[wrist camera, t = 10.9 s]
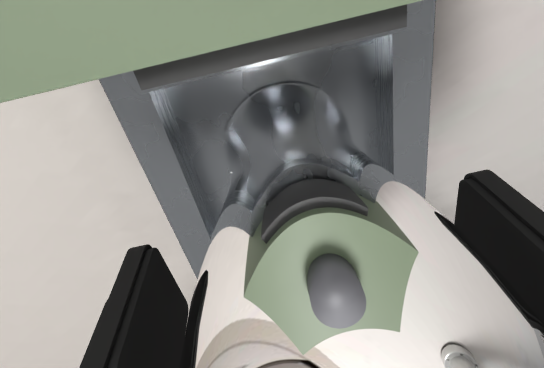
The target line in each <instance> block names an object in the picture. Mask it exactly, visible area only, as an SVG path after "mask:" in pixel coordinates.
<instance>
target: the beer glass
mask: <svg viewBox="0 0 544 368" xmlns="http://www.w3.org/2000/svg"><path fill="white" fill-rule="evenodd" d="M223 146H224V156H225V161H226V164H227V167H228V170H229V173H230V176H231V183H230V188H229V191H228V194H227V197H226V199H225V202H224V205H223V207H222V210H221V212H220V215H219V217H218V220H217V223H216V226H215V228H214V231H213V234H212V236H211V239H210V242H209V245H208V247H207V250H206V253H205V256H204V260H203V263H202V267H201V270H200V273H199V277H198V280H197V284H196V287H195V290H194V294H193V297H192V301H191V306H190V311H189V316H188V322H187V327H186V333H185V338H184V344H183V349H182V355H181V360H180V366H179V368H544V323H543V322H542V321H541V320H540V319H539V317H538V316H537V315H536V314H535V312H534V311H533V310H532V309H531V308H530V306H529V305H528V304H527V303H526V302H525V300H524V299H523V298H522V297H521V295H520V294H519V293H518V292H517V291H516V289H515V288H514V287H513V286H512V285H511V284H510V283H509V282H508V280H507V279H506V278H505V277H504V276H503V275H502V274H501V273H500V272H499V271H498V270H497V269H496V268H495V267H494V265H493V264H492V263H491V262H490V261H489V260H488V259H487V258H486V257H485V256H484V255H483V254H482V253H481V252H480V251H479V249H478V248H477V247H476V246H475V245H474V244H473V243H472V242H471V241H470V240H469V239H468V238H467V237H466V236H465V234H464V233H463V232H462V231H461V230H459V229H458V228H457V227H456V226H455V225H454V224H453V223H451V222H450V221H449V220H448V219H447V218H446V217H445V216H443V215H442V214H441V213H440V212H439V211H438V210H437V209H435V208H434V207H433V206H432V205H431V204H430V203H428V202H427V201H426V200H425V199H424V198H423V197H422V196H420V195H419V194H418V193H417V192H415V191H414V190H413V189H411V188H410V187H409V186H407V185H406V184H405V183H404V182H402V181H401V180H400V179H398V178H397V177H396V176H394V175H393V174H392V173H390V172H389V171H388V170H386V169H385V168H384V167H382V166H381V165H380V164H378V163H377V162H375V161H374V160H373V159H371V158H370V157H369V156H367V155H366V154H365V153H364V152H363V151H361V150H360V149H359V148H358V147H357V146H356V144H355V143H354V140H353V137H352V133H351V128H350V124H349V121H348V118H347V116H346V114H345V112H344V111H343V109H342V107H341V106H340V105H339V104H338V102H337V101H336V100H335V99H334V98H332V97H331V96H330V95H329V94H327V93H326V92H324V91H322V90H320V89H318V88H316V87H313V86H310V85H307V84H302V83H280V84H275V85H271V86H268V87H265V88H263V89H261V90H259V91H257V92H255V93H254V94H252V95H251V96H249V97H248V98H247V99H245V100H244V101H243V102H242V103H241V104H240V105H239V107H238V108H237V109H236V110H235V112H234V113H233V115H232V116H231V118H230V120H229V122H228V124H227V127H226V130H225V134H224V143H223Z"/></svg>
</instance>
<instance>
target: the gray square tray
mask: <svg viewBox="0 0 544 368" xmlns="http://www.w3.org/2000/svg"><path fill="white" fill-rule="evenodd" d="M435 3H436V0H422V1H418V2H414V3H410V4H407V27H404V28H400V29H396V30H392V31H387V32H383V33H379V34H375V35H371V36H367V37H362V38H358V39H354V40H350V41H346V42H342V43H338V44H333V45H329V46H325V47H321V48H317V49H313V50H308V51H304V52H300V53H296V54H292V55H288V56H283V57H279V58H275V59H271V60H267V61H263V62H258V63H254V64H250V65H246V66H242V67H238V68H233V69H229V70H225V71H221V72H217V73H213V74H208V75H204V76H200V77H196V78H192V79H188V80H183V81H179V82H175V83H171V84H167V85H163V86H158V87H154V88H150V89H146V90H142V91H141V88H140V86H139V84H138V81H137V79H136V77H135V74H134V72H133V71H130V72H126V73H122V74H117V75H113V76H109V77H105V78H101V79H99V81H100V83H101V85H102V87H103V89H104V91H105V93H106V95H107V97H108V99H109V101H110V103H111V105H112V107H113V109H114V111H115V113H116V115H117V117H118V119H119V121H120V123H121V125H122V127H123V129H124V131H125V133H126V135H127V137H128V139H129V141H130V143H131V146H132V148H133V150H134V152H135V154H136V156H137V158H138V160H139V162H140V164H141V166H142V168H143V170H144V172H145V174H146V176H147V178H148V180H149V182H150V184H151V186H152V188H153V190H154V192H155V194H156V196H157V198H158V200H159V202H160V204H161V206H162V208H163V210H164V212H165V214H166V217H167V219H168V221H169V223H170V225H171V227H172V229H173V231H174V233H175V235H176V237H177V239H178V241H179V243H180V245H181V247H182V249H183V251H184V253H185V255H186V257H187V259H188V261H189V263H190V265H191V267H192V269H193V271H194V273H195V275H196V277H197V279H198V277H199V273H200V270H201V267H202V263H203V260H204V256H205V253H206V250H207V247H208V245H209V242H210V239H211V236H212V234H213V231H214V228H215V226H216V223H217V220H218V217H219V215H220V212H221V210H222V207H223V205H224V202H225V199H226V197H227V194H228V191H229V188H230V183H231V176H230V173H229V170H228V167H227V164H226V161H225V156H224V146H223V143H224V134H225V130H226V127H227V124H228V122H229V120H230V118H231V116H232V115H233V113H234V112H235V110H236V109H237V108H238V107H239V105H240V104H241V103H242V102H243V101H244V100H245V99H247V98H248V97H249V96H251V95H252V94H254V93H255V92H257V91H259V90H261V89H263V88H265V87H268V86H271V85H275V84H280V83H302V84H307V85H310V86H313V87H316V88H318V89H320V90H322V91H324V92H326V93H327V94H329V95H330V96H331V97H332V98H334V99H335V100H336V101H337V102H338V104H339V105H340V106H341V107H342V109H343V111H344V112H345V114H346V116H347V118H348V121H349V124H350V128H351V133H352V137H353V140H354V143H355V144H356V146H357V147H358V148H359V149H360V150H361V151H363V152H364V153H365V154H366V155H367V156H369V157H370V158H371V159H373V160H374V161H375V162H377V163H378V164H380V165H381V166H382V167H384V168H385V169H386V170H388V171H389V172H390V173H392V174H393V175H394V176H396V177H397V178H398V179H400V180H401V181H402V182H404V183H405V184H406V185H407V186H409V187H410V188H411V189H413V190H414V191H415V192H417V193H418V194H419V195H420V196H422V197H423V198H424V199H425V190H426V171H427V153H428V134H429V115H430V97H431V78H432V59H433V41H434V22H435Z"/></svg>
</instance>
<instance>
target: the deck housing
mask: <svg viewBox="0 0 544 368" xmlns="http://www.w3.org/2000/svg"><path fill="white" fill-rule="evenodd" d="M418 1H422V0H0V103H2V102H6V101H10V100H14V99H19V98H23V97H27V96H31V95H35V94H39V93H43V92H47V91H52V90H56V89H60V88H64V87H68V86H72V85H76V84H80V83H84V82H89V81H93V80H97V79H101V78H105V77H109V76H113V75H117V74H122V73H126V72H130V71H133V72H134V74H135V77H136V79H137V81H138V84H139V86H140V88H141V91H142V90H146V89H150V88H154V87H158V86H163V85H167V84H171V83H175V82H179V81H183V80H188V79H192V78H196V77H200V76H204V75H208V74H213V73H217V72H221V71H225V70H229V69H233V68H238V67H242V66H246V65H250V64H254V63H258V62H263V61H267V60H271V59H275V58H279V57H283V56H288V55H292V54H296V53H300V52H304V51H308V50H313V49H317V48H321V47H325V46H329V45H333V44H338V43H342V42H346V41H350V40H354V39H358V38H362V37H367V36H371V35H375V34H379V33H383V32H387V31H392V30H396V29H400V28H404V27H407V4H410V3H414V2H418Z"/></svg>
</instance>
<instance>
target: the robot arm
mask: <svg viewBox="0 0 544 368" xmlns="http://www.w3.org/2000/svg"><path fill="white" fill-rule="evenodd" d="M454 225H455V226H456V227H457V228H458V229H459V230H461V231H462V232H463V233H464V234H465V236H466V237H467V238H468V239H469V240H470V241H471V242H472V243H473V244H474V245H475V246H476V247H477V248H478V249H479V251H480V252H481V253H482V254H483V255H484V256H485V257H486V258H487V259H488V260H489V261H490V262H491V263H492V264H493V265H494V267H495V268H496V269H497V270H498V271H499V272H500V273H501V274H502V275H503V276H504V277H505V278H506V279H507V280H508V282H509V283H510V284H511V285H512V286H513V287H514V288H515V289H516V291H517V292H518V293H519V294H520V295H521V297H522V298H523V299H524V300H525V302H526V303H527V304H528V305H529V306H530V308H531V309H532V310H533V311H534V312H535V314H536V315H537V316H538V317H539V319H540V320H541V321H542V322H543V323H544V212H543V211H542V210H541V209H539V208H538V207H537V206H535V205H534V204H533V203H532V202H530V201H529V200H528V199H526V198H525V197H524V196H523V195H521V194H520V193H519V192H518V191H516V190H515V189H514V188H512V187H511V186H510V185H509V184H507V183H506V182H505V181H503V180H502V179H501V178H500V177H498V176H497V175H496V174H494V173H493V172H492V171H490V170H483V171H478V172H474V173H469V174H467V175H466V176H465V177H464V180H461V181H460V183H459V190H458V198H457V206H456V215H455V223H454ZM187 318H188V304H187V301H186V299H185V298H184V296H183V294H182V292H181V290H180V288H179V287H178V285H177V283H176V281H175V279H174V278H173V276H172V274H171V272H170V270H169V268H168V267H167V265H166V263H165V261H164V259H163V258H162V256H161V254H160V252H159V250H158V249H157V248H152V247H151V246H150V245H143V246H138V247H134V248H130V249H129V250H128V251H127V254H126V256H125V259H124V261H123V264H122V266H121V269H120V271H119V274H118V276H117V279H116V281H115V284H114V286H113V289H112V291H111V294H110V296H109V299H108V300H107V302H106V303H105V306H104V308H103V311H102V313H101V315H100V318H99V320H98V323H97V325H96V328H95V330H94V333H93V335H92V338H91V340H90V343H89V345H88V348H87V350H86V353H85V355H84V358H83V360H82V363H81V365H80V368H179V366H180V360H181V355H182V349H183V344H184V338H185V332H186V325H187Z"/></svg>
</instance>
